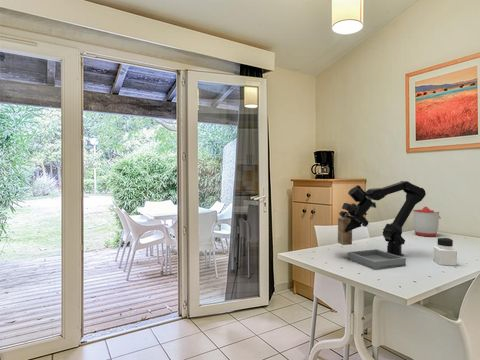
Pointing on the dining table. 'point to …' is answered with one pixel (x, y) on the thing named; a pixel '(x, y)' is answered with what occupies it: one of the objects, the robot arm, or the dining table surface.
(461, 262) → the dining table surface
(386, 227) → the robot arm
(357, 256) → the tray
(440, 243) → the medicine bottle
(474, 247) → the dining table surface
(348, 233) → the walnut block
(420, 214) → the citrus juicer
